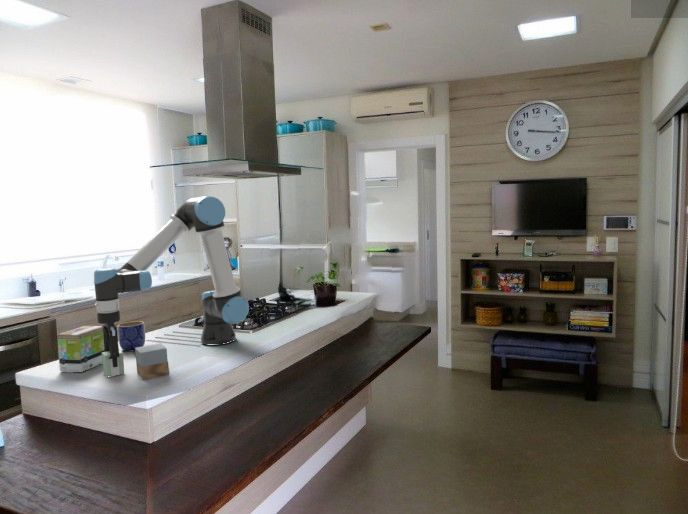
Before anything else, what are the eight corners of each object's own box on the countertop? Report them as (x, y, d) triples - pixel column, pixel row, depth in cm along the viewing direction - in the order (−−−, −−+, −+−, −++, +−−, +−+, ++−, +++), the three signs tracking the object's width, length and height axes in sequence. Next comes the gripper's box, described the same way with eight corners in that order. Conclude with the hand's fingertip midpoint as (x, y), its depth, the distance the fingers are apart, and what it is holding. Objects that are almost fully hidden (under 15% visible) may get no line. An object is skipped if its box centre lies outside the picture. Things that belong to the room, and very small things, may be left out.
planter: (150, 348, 224) (148, 322, 223) (126, 354, 216) (123, 327, 215) (139, 344, 231) (137, 319, 230) (115, 349, 223) (112, 324, 222)
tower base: (162, 369, 193) (161, 356, 192) (169, 375, 185) (168, 361, 185) (137, 374, 188) (136, 361, 187) (143, 380, 180) (142, 366, 180)
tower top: (161, 356, 192) (160, 343, 192) (167, 361, 185) (166, 348, 184) (136, 361, 187) (135, 347, 187) (141, 367, 180) (140, 353, 179)
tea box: (82, 373, 192) (79, 334, 190) (59, 372, 194) (55, 334, 192) (108, 361, 206) (105, 324, 205) (86, 360, 208) (83, 324, 207)
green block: (120, 370, 193) (119, 349, 193) (124, 373, 189) (122, 352, 188) (103, 373, 190) (101, 352, 189) (106, 377, 185) (104, 355, 184)
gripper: (92, 309, 193) (97, 369, 195) (102, 316, 177) (107, 381, 179) (113, 306, 197) (118, 365, 199) (125, 313, 181) (130, 377, 183)
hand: (113, 372), depth 189 cm, fingers open, 6 cm apart
